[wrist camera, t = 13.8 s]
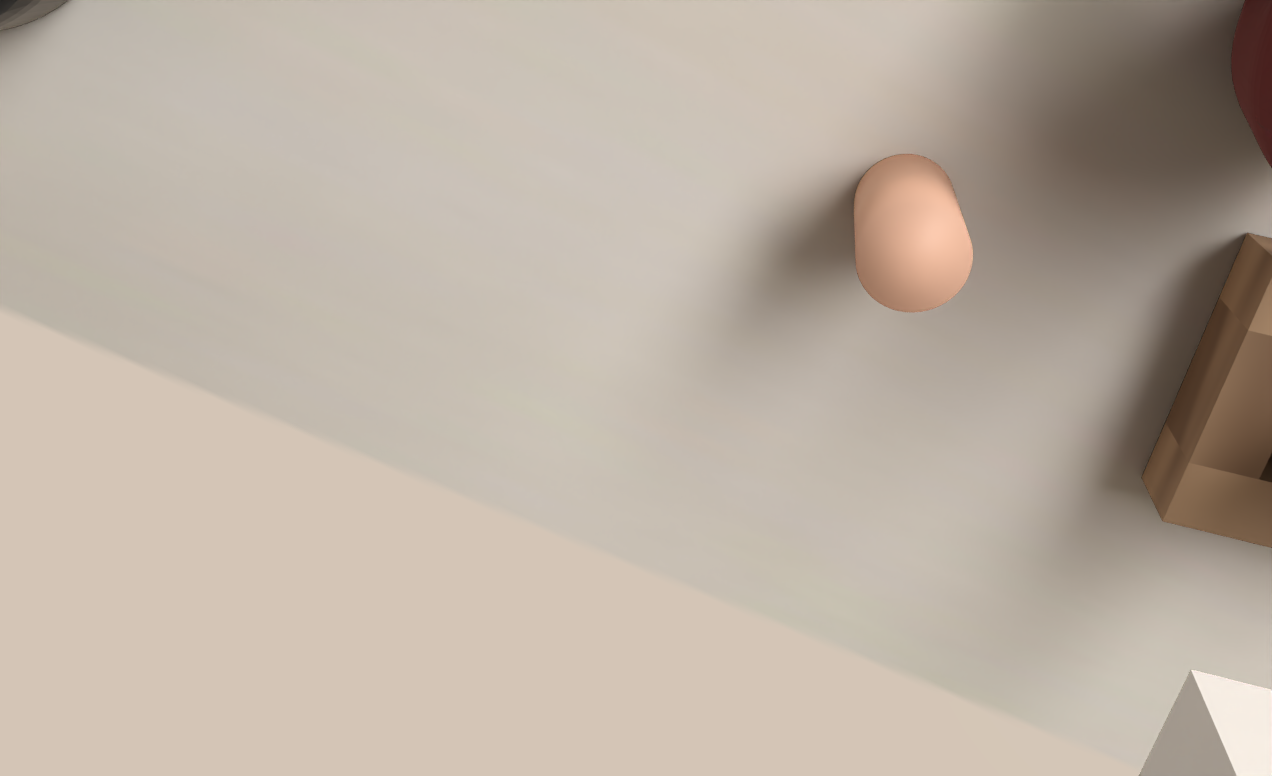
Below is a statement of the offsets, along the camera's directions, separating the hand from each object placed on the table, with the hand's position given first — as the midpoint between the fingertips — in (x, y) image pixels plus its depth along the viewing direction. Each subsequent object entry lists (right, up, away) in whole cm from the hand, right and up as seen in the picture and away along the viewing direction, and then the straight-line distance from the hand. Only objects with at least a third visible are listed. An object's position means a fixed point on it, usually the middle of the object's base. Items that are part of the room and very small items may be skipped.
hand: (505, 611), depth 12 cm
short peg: (+10, +8, +26) cm, 29 cm away
